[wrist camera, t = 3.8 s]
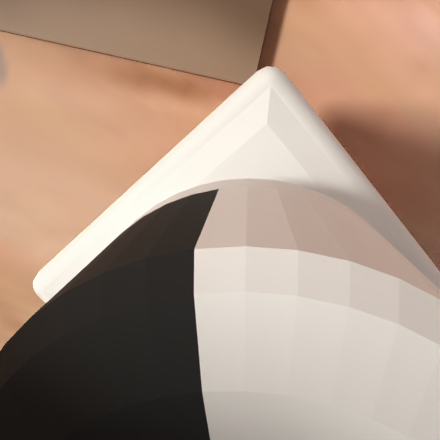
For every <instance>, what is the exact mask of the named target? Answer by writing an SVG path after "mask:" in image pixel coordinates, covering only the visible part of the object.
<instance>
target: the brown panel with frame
mask: <svg viewBox="0 0 440 440" xmlns="http://www.w3.org/2000/svg"><path fill="white" fill-rule="evenodd" d="M272 1H273V0H0V31H4V32H8V33H13V34H17V35H22V36H26V37H31V38H35V39H40V40H44V41H48V42H53V43H57V44H62V45H66V46H71V47H75V48H80V49H84V50H89V51H93V52H98V53H102V54H106V55H111V56H115V57H120V58H124V59H129V60H133V61H138V62H142V63H147V64H151V65H156V66H160V67H164V68H169V69H173V70H178V71H182V72H187V73H191V74H196V75H200V76H205V77H209V78H214V79H218V80H222V81H227V82H231V83H236V84H240V85H242V84H243V83H245V82H246V81H247V80H248V79H249V78H250V77H251V76H252V75H253V74H254V73H255V72H256V71H257V67H258V63H259V58H260V54H261V49H262V45H263V41H264V36H265V32H266V27H267V23H268V19H269V14H270V10H271V5H272Z"/></svg>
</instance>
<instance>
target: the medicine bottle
mask: <svg viewBox="0 0 440 440" xmlns="http://www.w3.org/2000/svg"><path fill="white" fill-rule="evenodd" d="M33 289H34V291H35V292H36V294H37V295H38V296H39V297H40V298H41V299H42V300H43V301H44V302H45V303H46V304H45V305H44V306H43V307H41V308H40V309H39V310H38V311H37V312H36V313H35V314H34V315H33V316H32V317H31V318H30V319H29V320H28V321H27V322H26V323H25V324H24V325H23V326H22V327H21V328H20V329H19V330H18V331H17V332H16V333H15V334H14V335H13V336H12V337H11V339H10V340H9V341H8V342H7V343H6V344H5V345H4V347H3V348H2V350H1V351H0V440H440V271H439V270H438V269H437V267H436V266H435V265H434V263H433V262H432V261H431V260H430V258H429V257H428V256H427V254H426V253H425V252H424V251H423V249H422V248H421V247H420V245H419V244H418V243H417V242H416V240H415V239H414V238H413V236H412V235H411V234H410V233H409V231H408V230H407V229H406V227H405V226H404V225H403V224H402V222H401V221H400V220H399V218H398V217H397V216H396V215H395V213H394V212H393V211H392V209H391V208H390V207H389V206H388V204H387V203H386V202H385V200H384V199H383V198H382V197H381V195H380V194H379V193H378V191H377V190H376V189H375V188H374V186H373V185H372V184H371V182H370V181H369V180H368V179H367V177H366V176H365V175H364V173H363V172H362V171H361V170H360V168H359V167H358V166H357V164H356V163H355V162H354V161H353V159H352V158H351V157H350V155H349V154H348V153H347V152H346V150H345V149H344V148H343V146H342V145H341V144H340V143H339V141H338V140H337V139H336V137H335V136H334V135H333V134H332V132H331V131H330V130H329V128H328V127H327V126H326V125H325V123H324V122H323V121H322V119H321V118H320V117H319V116H318V114H317V113H316V112H315V110H314V109H313V108H312V107H311V105H310V104H309V103H308V101H307V100H306V99H305V98H304V96H303V95H302V94H301V92H300V91H299V90H298V89H297V87H296V86H295V85H294V84H293V82H292V81H291V80H290V78H289V77H288V76H287V75H286V73H285V72H283V71H282V70H280V69H279V68H278V67H270V66H266V67H264V68H262V69H260V70H258V71H257V72H255V73H254V74H253V75H252V76H251V77H250V78H249V79H248V80H247V81H246V82H245V83H243V84H242V85H241V86H240V87H239V88H238V89H237V90H236V91H235V92H234V93H233V94H232V95H230V96H229V97H228V98H227V99H226V100H225V101H224V102H223V103H222V104H221V105H220V106H218V107H217V108H216V109H215V110H214V111H213V112H212V113H211V114H210V115H209V116H208V117H206V118H205V119H204V120H203V121H202V122H201V123H200V124H199V125H198V126H197V127H196V128H194V129H193V130H192V131H191V132H190V133H189V134H188V135H187V136H186V137H185V138H184V139H183V140H181V141H180V142H179V143H178V144H177V145H176V146H175V147H174V148H173V149H172V150H171V151H169V152H168V153H167V154H166V155H165V156H164V157H163V158H162V159H161V160H160V161H159V162H157V163H156V164H155V165H154V166H153V167H152V168H151V169H150V170H149V171H148V172H147V173H146V174H144V175H143V176H142V177H141V178H140V179H139V180H138V181H137V182H136V183H135V184H134V185H132V186H131V187H130V188H129V189H128V190H127V191H126V192H125V193H124V194H123V195H122V196H120V197H119V198H118V199H117V200H116V201H115V202H114V203H113V204H112V205H111V206H110V207H109V208H107V209H106V210H105V211H104V212H103V213H102V214H101V215H100V216H99V217H98V218H97V219H95V220H94V221H93V222H92V223H91V224H90V225H89V226H88V227H87V228H86V229H85V230H83V231H82V232H81V233H80V234H79V235H78V236H77V237H76V238H75V239H74V240H73V241H71V242H70V243H69V244H68V245H67V246H66V247H65V248H64V249H63V250H62V251H61V252H60V253H58V254H57V255H56V256H55V257H54V258H53V259H52V260H51V261H50V262H49V263H48V264H46V265H45V266H44V267H43V268H42V269H41V270H40V271H39V272H38V274H37V275H36V277H35V279H34V281H33Z"/></svg>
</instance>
